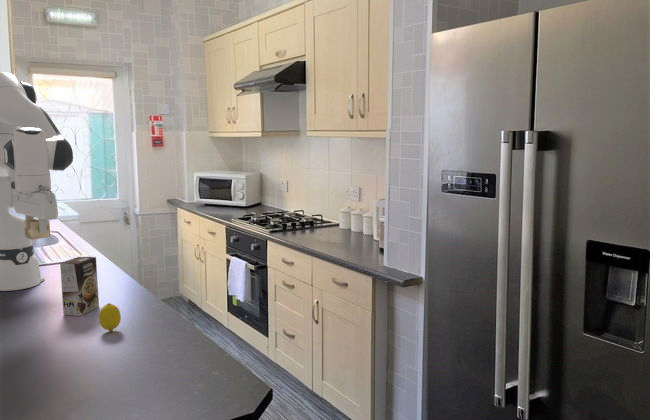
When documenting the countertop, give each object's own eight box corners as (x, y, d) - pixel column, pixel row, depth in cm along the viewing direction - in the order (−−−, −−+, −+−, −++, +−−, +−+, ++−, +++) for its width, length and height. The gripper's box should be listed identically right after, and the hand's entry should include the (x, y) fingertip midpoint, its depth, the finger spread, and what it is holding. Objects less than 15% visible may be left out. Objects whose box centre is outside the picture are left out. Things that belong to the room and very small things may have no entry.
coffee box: (81, 316, 163) (78, 263, 161) (62, 315, 164) (58, 262, 162) (100, 306, 172) (96, 256, 170) (81, 305, 173) (78, 255, 171)
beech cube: (25, 237, 160) (23, 220, 160) (42, 234, 164) (41, 218, 164) (32, 239, 157) (31, 222, 157) (50, 236, 161) (49, 220, 160)
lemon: (125, 329, 153) (124, 301, 151) (112, 336, 147) (110, 307, 146) (109, 326, 154) (107, 299, 153) (95, 333, 149) (93, 305, 148)
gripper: (62, 186, 154) (65, 234, 157) (29, 181, 167) (32, 225, 169) (39, 188, 150) (43, 237, 152) (7, 182, 162) (11, 228, 164)
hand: (37, 231), depth 161 cm, fingers closed on beech cube, 5 cm apart
